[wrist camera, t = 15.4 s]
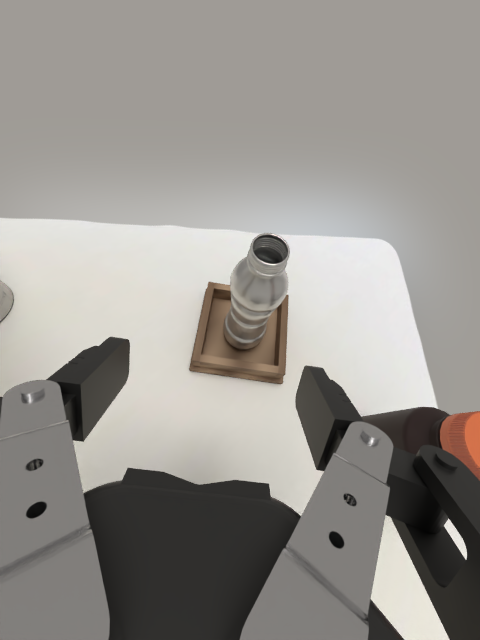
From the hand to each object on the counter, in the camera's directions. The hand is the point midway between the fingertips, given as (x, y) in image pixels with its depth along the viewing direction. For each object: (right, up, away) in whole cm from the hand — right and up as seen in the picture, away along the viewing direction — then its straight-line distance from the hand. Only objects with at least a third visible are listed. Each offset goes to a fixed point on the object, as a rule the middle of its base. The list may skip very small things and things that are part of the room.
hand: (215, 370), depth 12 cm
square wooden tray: (+1, 0, +30) cm, 30 cm away
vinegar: (+17, -16, +25) cm, 34 cm away
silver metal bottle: (+2, 0, +29) cm, 29 cm away
